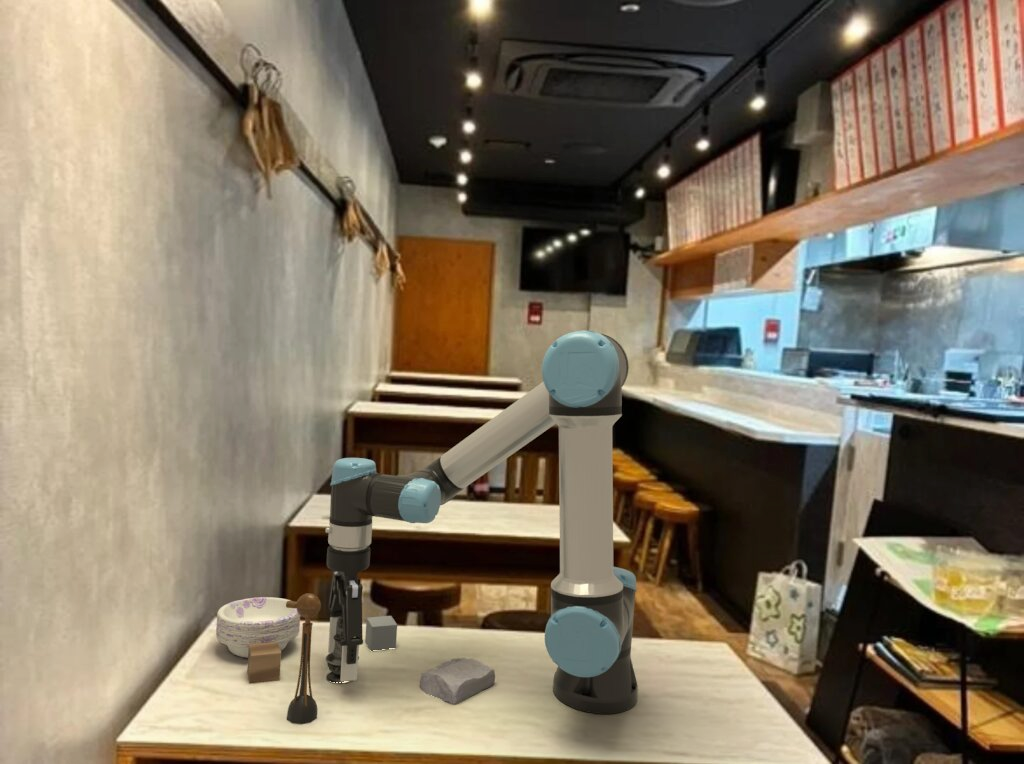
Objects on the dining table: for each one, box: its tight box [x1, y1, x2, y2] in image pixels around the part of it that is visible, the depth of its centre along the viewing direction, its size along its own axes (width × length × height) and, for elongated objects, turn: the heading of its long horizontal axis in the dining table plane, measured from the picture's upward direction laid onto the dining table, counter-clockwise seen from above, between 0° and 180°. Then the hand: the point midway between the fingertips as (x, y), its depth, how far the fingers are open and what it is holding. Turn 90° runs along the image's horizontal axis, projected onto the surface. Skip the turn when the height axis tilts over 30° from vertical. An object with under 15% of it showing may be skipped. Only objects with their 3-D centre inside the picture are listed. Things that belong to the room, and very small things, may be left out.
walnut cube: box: [246, 642, 282, 684], centre depth 131 cm, size 5×5×5 cm
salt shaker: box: [325, 615, 360, 684], centre depth 133 cm, size 6×6×12 cm
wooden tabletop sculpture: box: [286, 592, 322, 725], centre depth 118 cm, size 6×5×20 cm
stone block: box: [419, 657, 496, 705], centre depth 133 cm, size 12×5×10 cm
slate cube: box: [364, 615, 398, 652], centre depth 148 cm, size 5×5×5 cm
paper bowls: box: [215, 596, 301, 659], centre depth 142 cm, size 15×15×8 cm
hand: (341, 665), depth 133 cm, fingers open, 11 cm apart
